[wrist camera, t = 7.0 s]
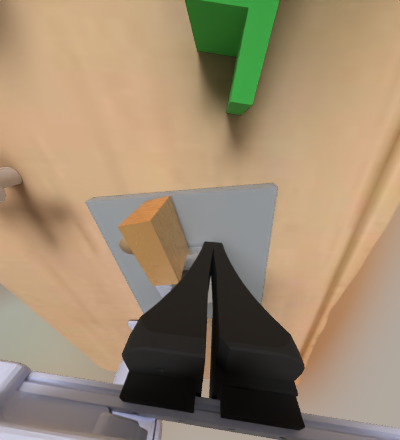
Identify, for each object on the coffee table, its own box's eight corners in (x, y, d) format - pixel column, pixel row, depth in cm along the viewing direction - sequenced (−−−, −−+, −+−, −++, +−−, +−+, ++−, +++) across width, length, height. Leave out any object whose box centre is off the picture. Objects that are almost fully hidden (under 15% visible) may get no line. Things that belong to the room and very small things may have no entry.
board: (256, 311, 23) (266, 352, 19) (147, 307, 25) (132, 342, 21) (273, 183, 13) (300, 205, 9) (93, 197, 16) (47, 220, 11)
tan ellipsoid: (158, 227, 15) (141, 254, 12) (144, 228, 16) (123, 254, 12) (154, 213, 15) (135, 238, 11) (139, 214, 15) (115, 238, 11)
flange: (226, 292, 19) (229, 333, 15) (169, 296, 21) (158, 334, 17) (200, 189, 13) (192, 212, 9) (119, 206, 14) (83, 232, 10)
